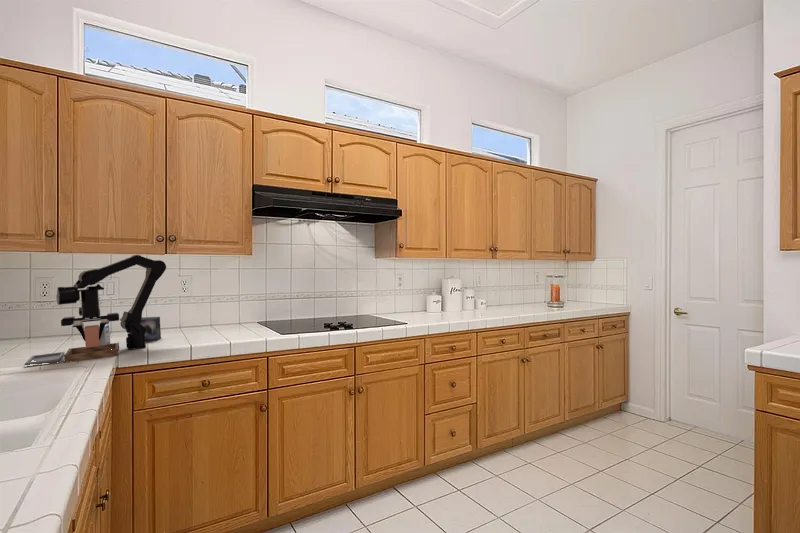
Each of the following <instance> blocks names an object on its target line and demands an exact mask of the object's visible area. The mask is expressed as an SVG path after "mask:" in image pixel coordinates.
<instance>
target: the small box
mask: <svg viewBox="0 0 800 533" xmlns="http://www.w3.org/2000/svg"><path fill="white" fill-rule="evenodd" d="M141 325H142V326H143V327H145V328H146V329H147V330H146V333H145V343H146V342H157V341H160V339H162V333H161V331H162V330H161V317H160V316H149V317H148V316H147V317H142V320H141Z"/></svg>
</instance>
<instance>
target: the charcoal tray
mask: <svg viewBox="0 0 800 533" xmlns="http://www.w3.org/2000/svg"><path fill="white" fill-rule="evenodd" d="M65 354H66V352H65V351H59V352H52V353H44V354H36V355H32V356H30V357H29V359H27V361H26V362H25V363H24V366H25V365H30V364H42V363H55V364H58V363H57V362H60V361H61V362H62V361H63V359H64V355H65ZM32 360H34V361H36V362H31V361H32ZM61 362H60V363H61Z"/></svg>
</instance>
